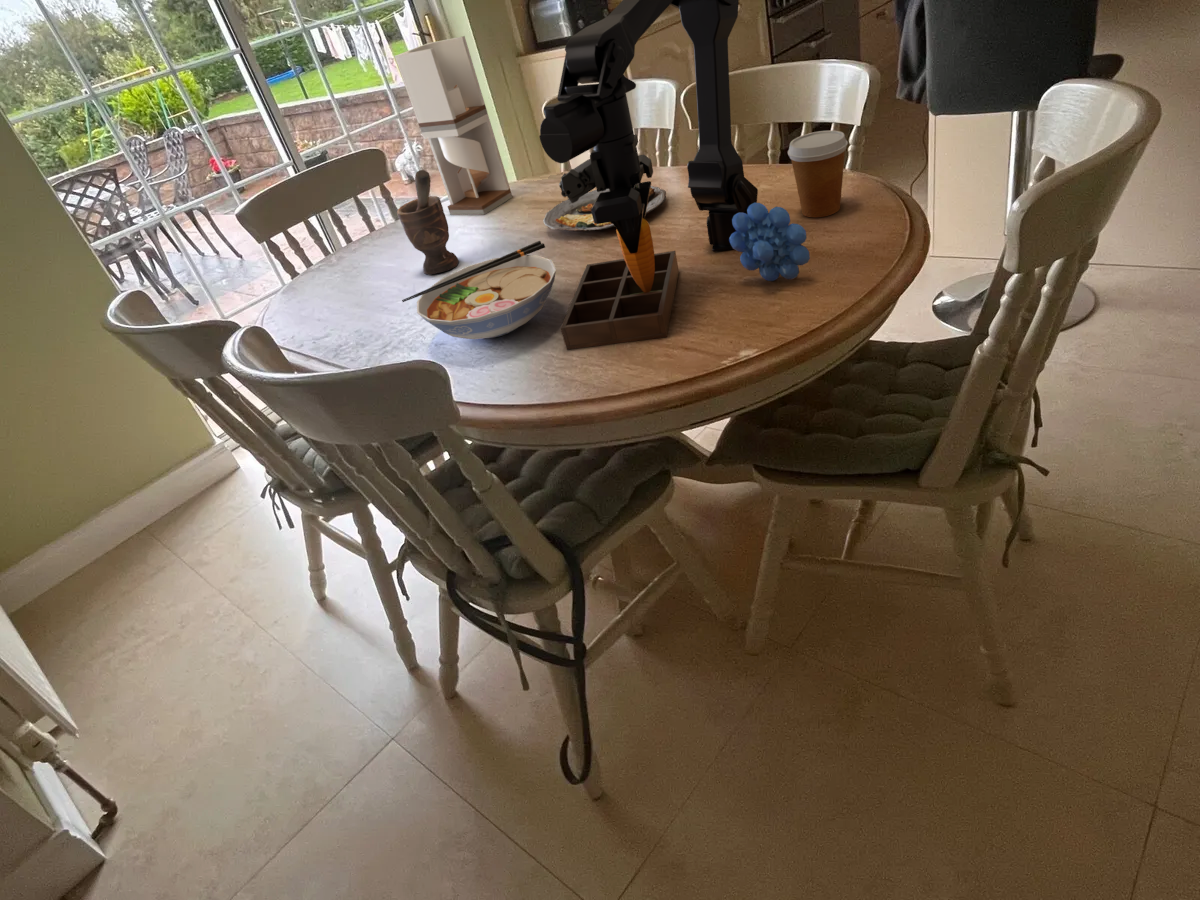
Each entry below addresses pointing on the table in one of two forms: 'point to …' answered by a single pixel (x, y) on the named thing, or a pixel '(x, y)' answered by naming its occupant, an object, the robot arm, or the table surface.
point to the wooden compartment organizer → (620, 304)
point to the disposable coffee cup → (819, 171)
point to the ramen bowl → (489, 295)
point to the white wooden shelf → (455, 124)
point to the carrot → (641, 258)
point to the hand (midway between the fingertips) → (636, 245)
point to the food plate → (581, 215)
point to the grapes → (769, 242)
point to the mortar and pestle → (427, 227)
